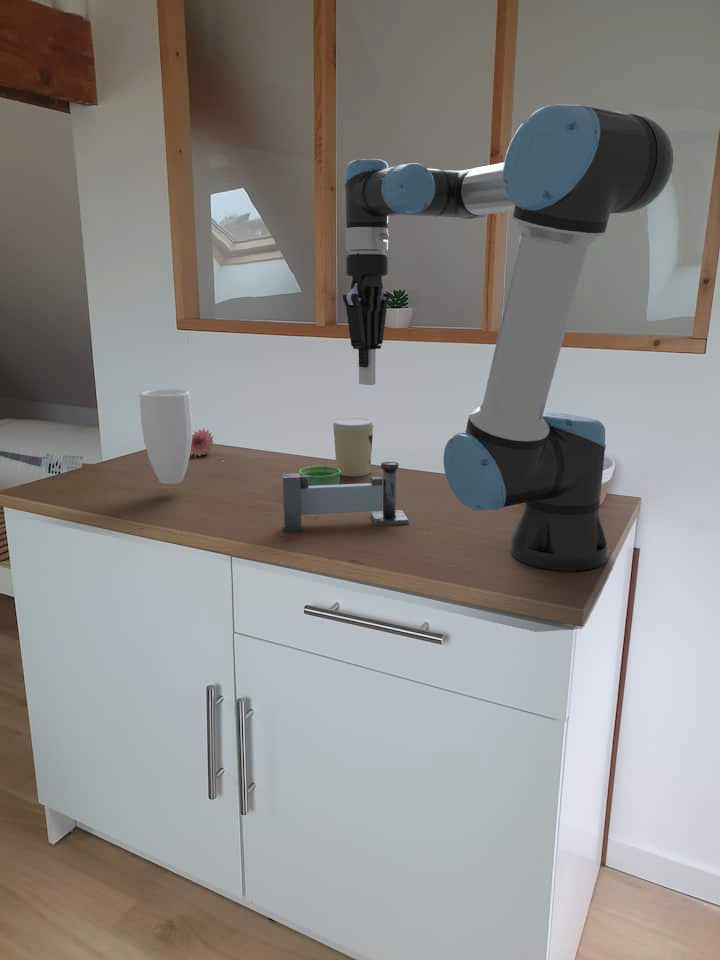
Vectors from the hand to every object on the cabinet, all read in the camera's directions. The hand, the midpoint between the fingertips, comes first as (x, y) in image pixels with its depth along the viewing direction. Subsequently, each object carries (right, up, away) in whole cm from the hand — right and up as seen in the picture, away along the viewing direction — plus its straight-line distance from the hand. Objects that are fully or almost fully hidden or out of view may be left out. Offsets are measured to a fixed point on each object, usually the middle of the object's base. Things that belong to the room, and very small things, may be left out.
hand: (367, 384), depth 140 cm
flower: (-42, -12, +51) cm, 67 cm away
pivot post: (+4, -26, -1) cm, 26 cm away
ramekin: (-10, -21, +19) cm, 30 cm away
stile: (-14, -27, -6) cm, 31 cm away
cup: (-41, -21, +16) cm, 48 cm away
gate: (-5, -24, -3) cm, 25 cm away
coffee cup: (-3, -17, +33) cm, 37 cm away
